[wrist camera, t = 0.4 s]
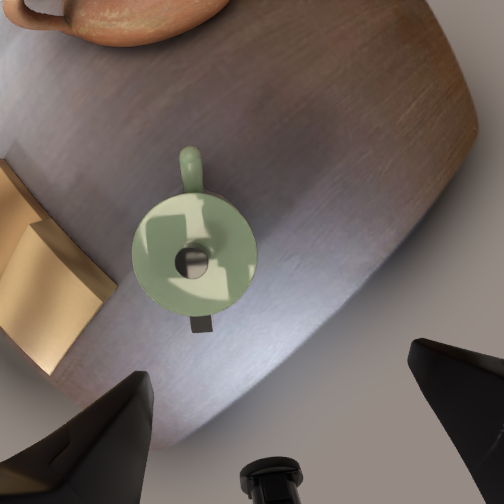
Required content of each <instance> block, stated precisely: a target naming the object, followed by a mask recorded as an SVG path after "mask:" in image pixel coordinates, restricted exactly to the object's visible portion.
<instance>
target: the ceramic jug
mask: <svg viewBox="0 0 504 504" xmlns="http://www.w3.org/2000/svg"><path fill="white" fill-rule="evenodd" d="M228 2H229V0H62V8H63V15H64V16H54V15H47V14H46V13H45V14H42V13H38V12H35V11H34V10H31V9H29V8H28V7H27V6H26V5H25V4H24V1H23V0H4V1H3V9H4V12H5V15H6V17H7V18H8V19H9V20H10V21H11V22H12V23H13V24H15V25H17V26H20V27H22V28H26V29H31V30H59V31H61V32H63V33H65V34H68V35H73V36H77V37H81V38H83V39H85V40H86V41H89V42H92V43H95V44H98V45H103V46H111V47H132V46H140V45H146V44H150V43H155V42H159V41H162V40H166V39H169V38H171V37H174V36H177V35H179V34H182V33H184V32H187V31H189V30H191V29H193V28H195V27H197V26H198V25H200V24H202V23H204V22H205V21H207V20H208V19H210V18H211V17H213V16H214V15H215V14H217V13H218V12H219V11H220V10H221V9H222V8H223V7H224V6H225V5H226V4H227V3H228Z"/></svg>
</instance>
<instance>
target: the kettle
mask: <svg viewBox="0 0 504 504" xmlns="http://www.w3.org/2000/svg"><path fill="white" fill-rule="evenodd" d="M179 162H180V169H181V176H182V183H183V189H184V193H183V194H178V195H175V196H172V197H169V198H167V199H165V200H163V201H161V202H160V203H158V204H157V205H155V206H154V207H153V208H152V209H151V210H150V211H149V212H148V213H147V214H146V215H145V216H144V218H143V219H142V221H141V222H140V224H139V226H138V228H137V230H136V233H135V235H134V239H133V244H132V263H133V268H134V272H135V274H136V277H137V279H138V281H139V283H140V285H141V287H142V288H143V290H144V291H145V292H146V293H147V295H148V296H149V297H150V298H151V299H152V300H153V301H154V302H156V303H157V304H158V305H160V306H161V307H163V308H165V309H167V310H169V311H171V312H174V313H176V314H180V315H185V316H190V324H191V331H192V332H193V333H202V332H213V314H215V313H217V312H220V311H222V310H224V309H226V308H228V307H230V306H231V305H232V304H234V303H235V302H236V301H237V300H238V299H239V298H241V296H242V295H243V294H244V293H245V292H246V290H247V289H248V287H249V285H250V284H251V281H252V279H253V277H254V274H255V270H256V265H257V246H256V242H255V238H254V235H253V232H252V230H251V228H250V226H249V224H248V222H247V221H246V220H245V218H244V217H243V216H242V214H241V213H240V212H239V211H238V210H237V208H236V207H235V206H234V205H233V204H232V203H231V202H230V201H229V200H228V199H226V198H225V197H223V196H221V195H219V194H217V193H214V192H210V191H204V185H203V173H202V162H201V153H200V151H199V149H198V148H196V147H195V146H186V147H184V148H183V149H182V150H181V151H180V153H179Z"/></svg>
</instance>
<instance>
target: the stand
mask: <svg viewBox="0 0 504 504" xmlns="http://www.w3.org/2000/svg"><path fill="white" fill-rule="evenodd" d="M117 287H118V285H116V284H115V283H114V282H113V281H112V280H111V279H110V278H109V277H108V276H107V275H106V274H105V273H104V272H103V271H102V270H101V269H100V268H99V267H98V266H97V265H96V264H95V263H94V262H93V261H92V260H91V259H90V258H89V257H88V256H87V255H86V254H85V253H84V252H83V251H82V250H81V249H80V248H79V247H78V246H77V245H76V244H75V243H74V242H73V241H72V240H71V239H70V238H69V237H68V236H67V235H66V233H65V232H64V231H63V230H62V229H61V228H60V227H59V226H58V225H57V224H56V222H55V221H54V220H53V219H52V218H51V217H50V216H49V215H48V213H47V212H46V211H45V210H44V209H43V208H42V206H41V205H40V204H39V203H38V202H37V201H36V199H35V198H34V197H33V196H32V195H31V193H30V192H29V191H28V190H27V188H26V187H25V186H24V185H23V183H22V182H21V181H20V180H19V178H18V177H17V176H16V174H15V173H14V172H13V170H12V169H11V168H10V166H9V165H8V164H7V162H6V161H5V160H4V159H0V326H1V327H2V328H3V329H4V330H5V331H6V333H7V334H8V335H9V336H10V337H11V338H12V339H13V340H14V341H15V342H16V343H17V344H18V345H19V347H20V348H21V349H22V350H23V351H24V352H25V353H26V354H27V355H28V356H29V357H30V358H31V359H32V360H34V361H35V362H36V363H37V364H38V365H39V366H40V367H41V368H42V369H43V370H44V371H45V372H46V373H47V374H49V375H51V374H52V372H53V371H54V370H55V368H56V367H57V366H58V364H59V363H60V362H61V360H62V359H63V358H64V356H65V355H66V354H67V352H68V351H69V350H70V348H71V347H72V345H73V344H74V343H75V341H76V340H77V339H78V337H79V336H80V335H81V333H82V332H83V330H84V329H85V328H86V326H87V325H88V324H89V323H90V321H91V320H92V319H93V317H94V316H95V315H96V313H97V312H98V311H99V310H100V308H101V307H102V306H103V304H104V303H105V302H106V301H107V299H108V298H109V297H110V296H111V294H112V293H113V292H114V291H115V290H116V288H117Z"/></svg>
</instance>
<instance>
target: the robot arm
mask: <svg viewBox="0 0 504 504" xmlns="http://www.w3.org/2000/svg"><path fill="white" fill-rule="evenodd" d="M408 365H409V368H410V369H411V371H412V373H413V375H414V377H415V379H416V381H417V383H418V385H419V387H420V389H421V391H422V393H423V395H424V397H425V398H426V400H427V401H428V403H429V405H430V406H431V408H432V409H433V411H434V412H435V414H436V415H437V417H438V419H439V420H440V422H441V424H442V425H443V427H444V429H445V430H446V432H447V434H448V435H449V437H450V438H451V440H452V442H453V444H454V445H455V447H456V449H457V450H458V452H459V454H460V456H461V458H462V459H463V461H464V463H465V465H466V466H467V468H468V470H469V472H470V473H471V475H472V478H473V479H474V481H475V483H476V485H477V487H478V489H479V491H480V493H481V494H482V497H483V498H484V500H485V502H486V504H504V359H499V358H497V357H493V356H489V355H485V354H481V353H477V352H473V351H469V350H466V349H462V348H458V347H454V346H451V345H447V344H443V343H439V342H436V341H432V340H428V339H425V338H419V339H415V340H413V342H412V343H411V347H410V351H409V355H408ZM153 404H154V392H153V388H152V384H151V380H150V376H149V374H148V372H147V371H135V372H133V373H132V374H130V375H129V376H128V377H126V378H125V379H124V380H123V381H121V382H120V383H119V384H117V385H116V386H115V387H113V388H112V389H111V390H109V391H108V392H107V393H105V394H104V395H103V396H102V397H100V398H99V399H98V400H96V401H95V402H94V403H92V404H91V405H90V406H88V407H87V408H86V409H84V410H83V411H82V412H80V413H79V414H78V415H76V416H75V417H73V418H72V419H71V420H69V421H68V422H67V423H66V424H64V425H63V426H62V427H60V428H58V429H57V430H56V431H54V432H53V433H52V434H50V435H48V436H47V437H45V438H44V439H42V440H41V441H39V442H37V443H36V444H34V445H32V446H31V447H29V448H27V449H25V450H23V451H21V452H20V453H18V454H16V455H14V456H12V457H11V458H9V459H7V460H5V461H3V462H0V504H140V498H141V491H142V485H143V479H144V473H145V468H146V462H147V456H148V451H149V446H150V440H151V432H152V417H153ZM298 479H299V470H298V469H292V470H286V471H280V472H273V473H265V474H256V475H248V476H247V477H246V481H247V490H248V497H249V499H252V501H253V504H301V501H300V497H299V494H298V491H297V486H298Z"/></svg>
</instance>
